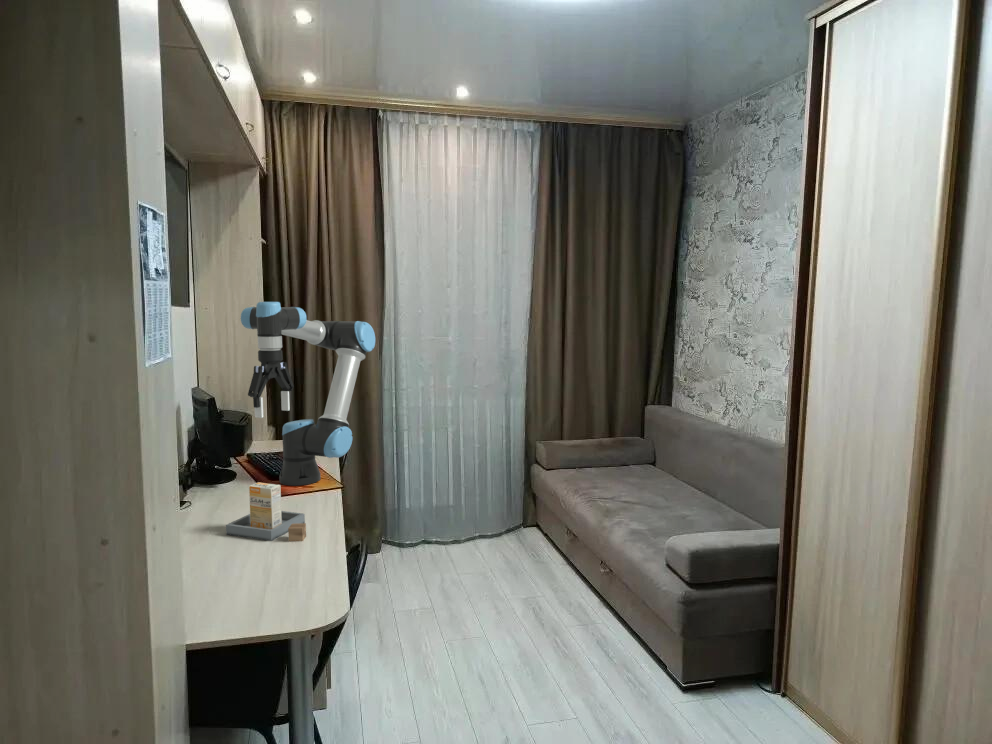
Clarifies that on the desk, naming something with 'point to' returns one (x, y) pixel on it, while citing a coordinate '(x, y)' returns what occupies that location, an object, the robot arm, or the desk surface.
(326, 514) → the desk surface
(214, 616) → the desk surface
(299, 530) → the walnut block
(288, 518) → the tray
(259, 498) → the supplement box
